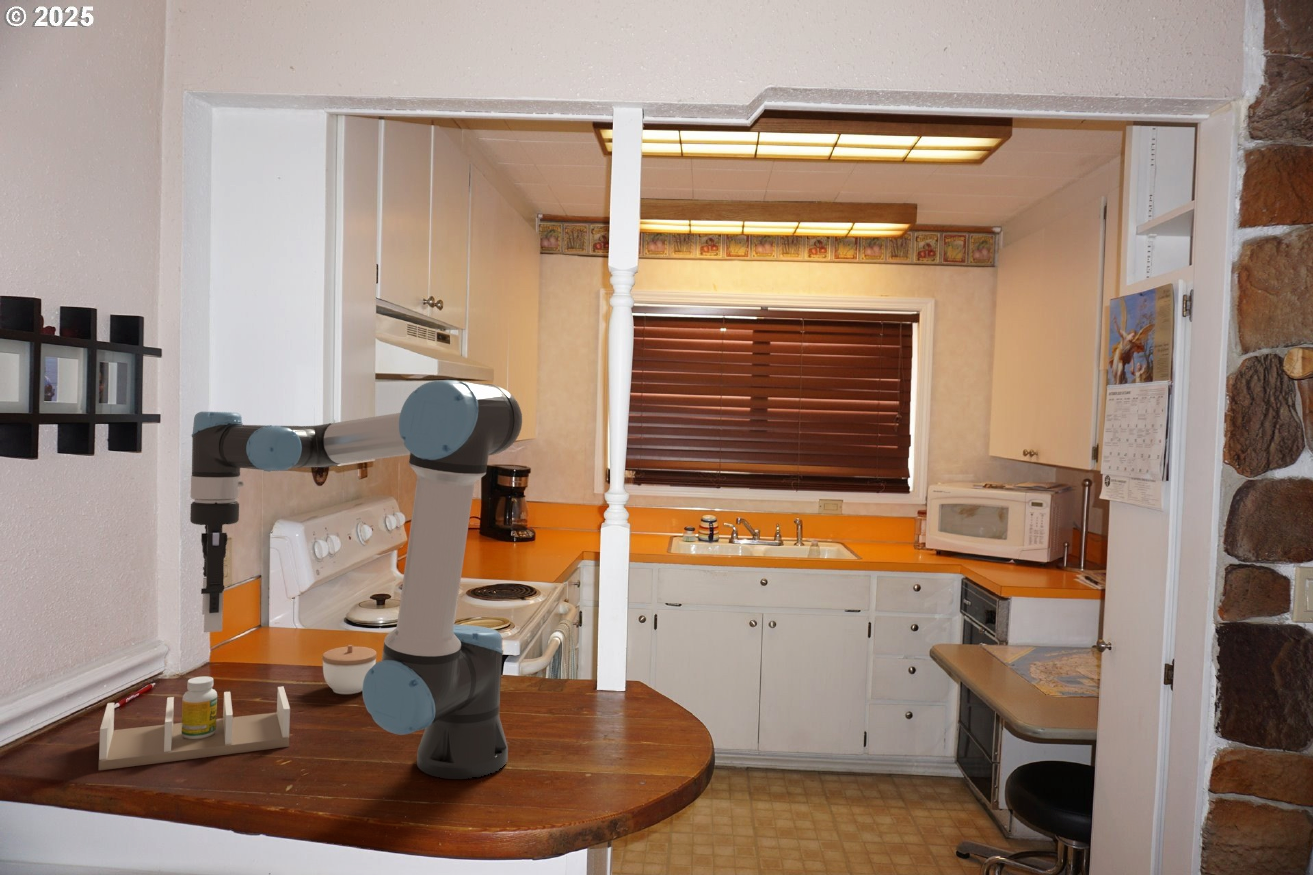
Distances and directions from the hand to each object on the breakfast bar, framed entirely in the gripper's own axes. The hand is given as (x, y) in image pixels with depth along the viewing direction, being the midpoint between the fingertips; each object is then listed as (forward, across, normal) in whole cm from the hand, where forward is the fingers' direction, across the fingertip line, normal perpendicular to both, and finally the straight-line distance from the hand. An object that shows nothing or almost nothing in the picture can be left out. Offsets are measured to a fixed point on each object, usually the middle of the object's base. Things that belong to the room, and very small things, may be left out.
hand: (211, 622), depth 151 cm
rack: (+21, 0, +2) cm, 21 cm away
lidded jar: (+21, +21, -27) cm, 40 cm away
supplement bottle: (+20, 0, +2) cm, 20 cm away
